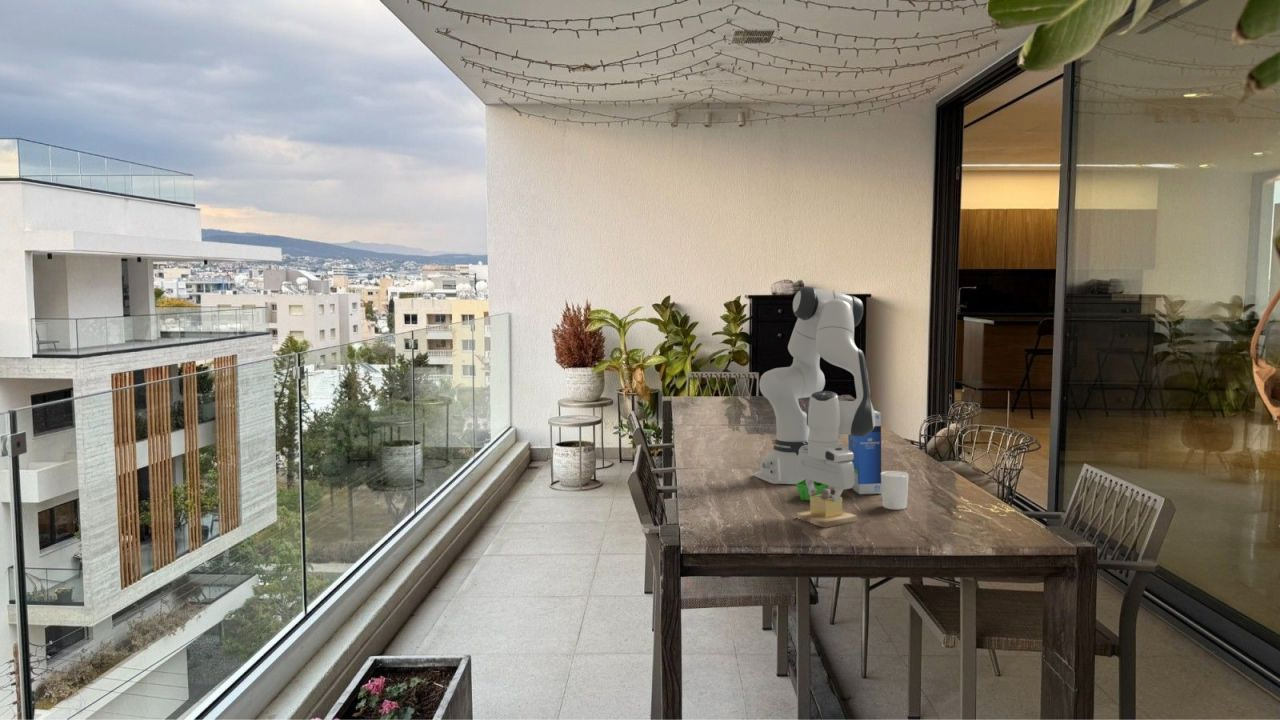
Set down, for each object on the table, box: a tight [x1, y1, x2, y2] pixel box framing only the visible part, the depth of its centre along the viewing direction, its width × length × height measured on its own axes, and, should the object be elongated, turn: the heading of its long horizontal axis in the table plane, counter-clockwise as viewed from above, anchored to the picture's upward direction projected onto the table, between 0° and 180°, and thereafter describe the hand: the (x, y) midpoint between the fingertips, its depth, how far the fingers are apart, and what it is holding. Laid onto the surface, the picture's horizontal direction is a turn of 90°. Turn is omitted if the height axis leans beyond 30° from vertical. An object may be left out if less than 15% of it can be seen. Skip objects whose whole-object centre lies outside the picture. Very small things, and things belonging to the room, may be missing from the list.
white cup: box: [881, 470, 909, 511], centre depth 246 cm, size 8×8×10 cm
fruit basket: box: [795, 479, 830, 502], centre depth 260 cm, size 11×9×11 cm
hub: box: [809, 493, 843, 518], centre depth 234 cm, size 6×6×5 cm
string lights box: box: [847, 409, 882, 495], centre depth 268 cm, size 13×8×26 cm, turn 0°
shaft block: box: [795, 488, 858, 528], centre depth 234 cm, size 12×12×8 cm
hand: (823, 498), depth 234 cm, fingers open, 8 cm apart
